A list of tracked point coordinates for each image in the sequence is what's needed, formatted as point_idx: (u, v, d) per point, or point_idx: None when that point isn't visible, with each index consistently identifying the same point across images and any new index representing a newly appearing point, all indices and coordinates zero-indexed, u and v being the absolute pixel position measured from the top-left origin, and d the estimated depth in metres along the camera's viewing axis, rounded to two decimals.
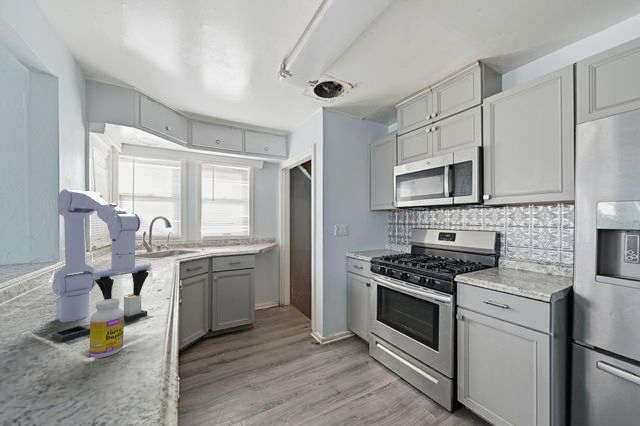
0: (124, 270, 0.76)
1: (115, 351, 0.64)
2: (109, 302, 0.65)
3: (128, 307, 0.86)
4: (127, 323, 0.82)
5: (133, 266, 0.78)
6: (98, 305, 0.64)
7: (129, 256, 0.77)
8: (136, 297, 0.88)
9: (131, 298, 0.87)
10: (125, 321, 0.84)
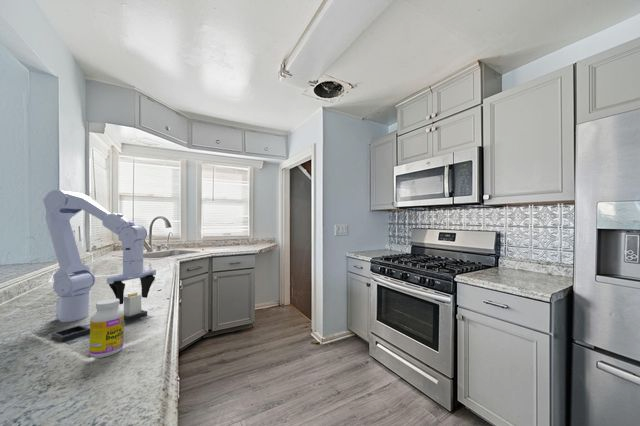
0: (134, 275, 0.86)
1: (115, 351, 0.64)
2: (109, 302, 0.65)
3: (128, 307, 0.86)
4: (127, 323, 0.82)
5: (141, 271, 0.89)
6: (98, 305, 0.64)
7: (138, 263, 0.88)
8: (136, 297, 0.88)
9: (131, 298, 0.87)
10: (125, 321, 0.84)
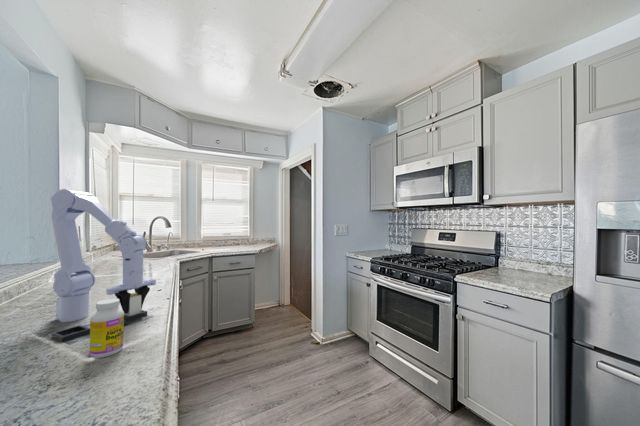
0: (134, 286, 0.86)
1: (115, 351, 0.64)
2: (109, 302, 0.65)
3: None
4: (127, 323, 0.82)
5: (141, 282, 0.89)
6: (98, 305, 0.64)
7: (138, 273, 0.88)
8: (136, 297, 0.88)
9: (131, 298, 0.87)
10: (125, 321, 0.84)
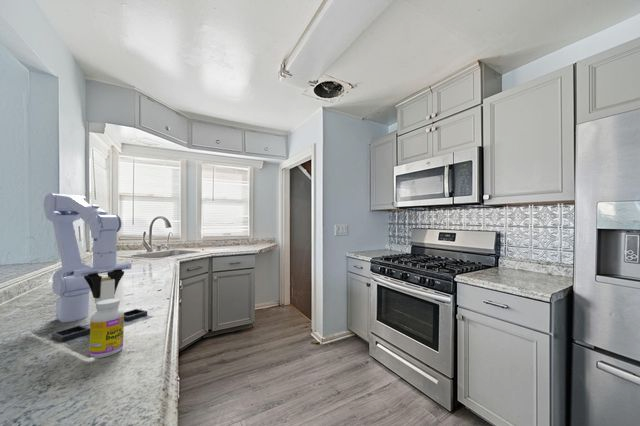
0: (105, 268, 0.79)
1: (115, 351, 0.64)
2: (109, 302, 0.65)
3: None
4: (127, 323, 0.82)
5: (114, 264, 0.82)
6: (98, 305, 0.64)
7: (110, 255, 0.81)
8: (109, 281, 0.81)
9: (103, 282, 0.79)
10: (125, 321, 0.84)
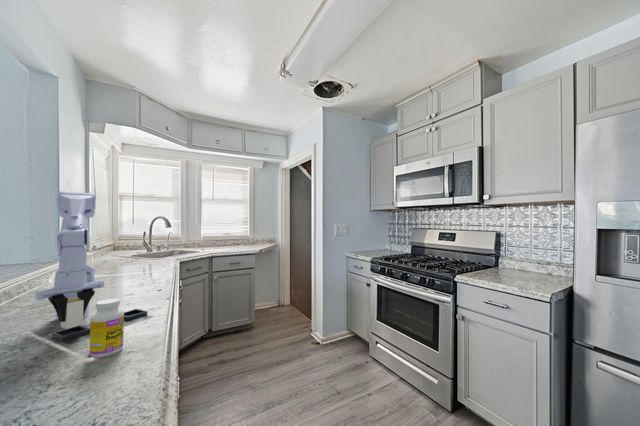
0: (72, 289, 0.72)
1: (115, 351, 0.64)
2: (109, 302, 0.65)
3: None
4: (127, 323, 0.82)
5: (83, 284, 0.75)
6: (98, 305, 0.64)
7: (78, 274, 0.73)
8: (76, 303, 0.74)
9: (69, 304, 0.72)
10: (125, 321, 0.84)
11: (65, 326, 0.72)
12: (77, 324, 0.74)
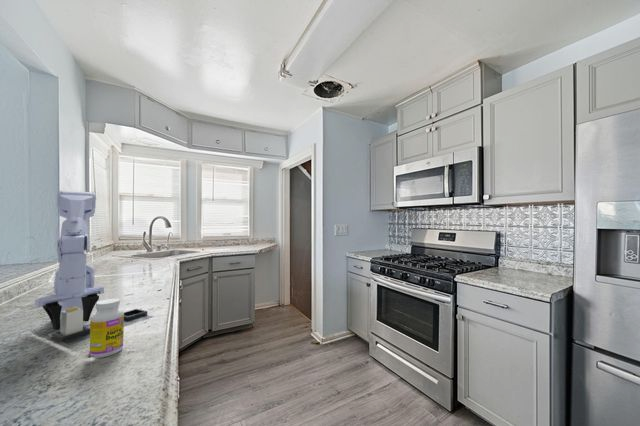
0: (71, 295, 0.72)
1: (115, 351, 0.64)
2: (109, 302, 0.65)
3: (65, 325, 0.72)
4: (127, 323, 0.82)
5: (83, 290, 0.75)
6: (98, 305, 0.64)
7: (78, 280, 0.73)
8: (76, 312, 0.73)
9: (68, 314, 0.72)
10: (125, 321, 0.84)
11: None
12: None
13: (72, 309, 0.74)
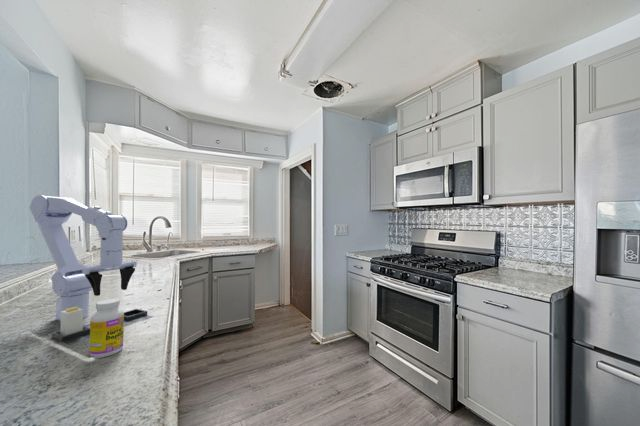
0: (112, 266, 0.83)
1: (115, 351, 0.64)
2: (109, 302, 0.65)
3: (65, 325, 0.72)
4: (127, 323, 0.82)
5: (120, 262, 0.86)
6: (98, 305, 0.64)
7: (116, 253, 0.85)
8: (76, 312, 0.73)
9: (68, 314, 0.72)
10: (125, 321, 0.84)
11: None
12: None
13: (72, 309, 0.74)
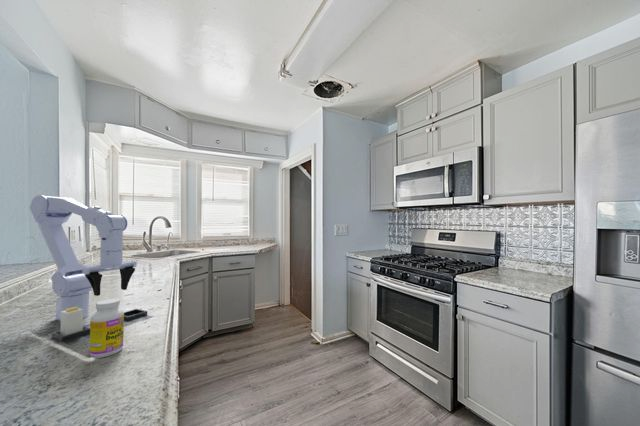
0: (112, 266, 0.83)
1: (115, 351, 0.64)
2: (109, 302, 0.65)
3: (65, 325, 0.72)
4: (127, 323, 0.82)
5: (120, 262, 0.86)
6: (98, 305, 0.64)
7: (116, 253, 0.85)
8: (76, 312, 0.73)
9: (68, 314, 0.72)
10: (125, 321, 0.84)
11: None
12: None
13: (72, 309, 0.74)
